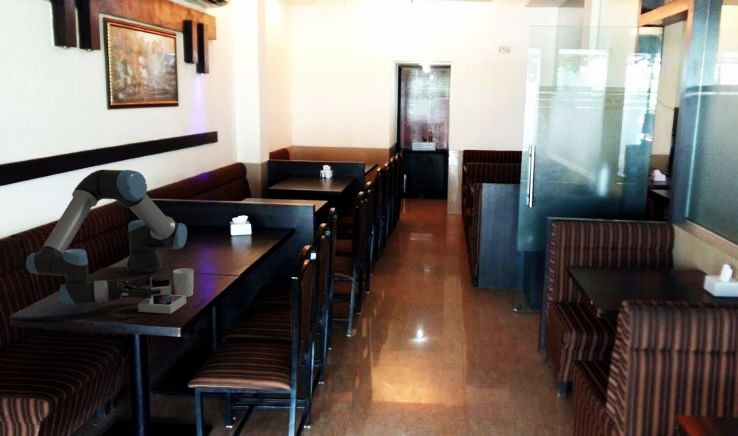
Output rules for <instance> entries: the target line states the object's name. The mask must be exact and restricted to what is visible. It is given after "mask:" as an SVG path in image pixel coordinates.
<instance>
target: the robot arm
mask: <svg viewBox="0 0 738 436" xmlns="http://www.w3.org/2000/svg"><path fill="white" fill-rule="evenodd" d="M146 182H147V181H146V178H145V176H144V175H143V174H142V173H141V172H139V171H136V170H131V169H98V170H95V171H92V172H90V173H89V174H88V175H86V176H85V177H84V178H83V179H81V181H80V182H79V183H78V184H77V185H76V186H75V188H74V190H73V191H72V193H71V196H72V198H71V200H70V202H69V203H68V204H67V206H66V208H65V210H64V211H63V213H62V214H61V216H60V217H59V220H58V221H57V223H56V225H55V226H54V227H53V229H52V231H51V233H50V234H49V236H48V238H47V239H46V240H45V242H44V244H43V246H42V247H41V249H40V250H39V252H32V253H31V254H29V255H28V256H27V258H26V260H25V267H26V269H27V271H28V272H29V273H31V274H34V275H35V274H36V275H39V276H42V275H47V276H63V277H65V283H62V284H60V285H59V286H60V287H59V299H60V302H61V304H62V305H79V304H81V305H82V304H89V303H98V304H101V303H102V302H107V301H108V300H109V301H110V302H111V301H119V300H120V299H121V297H122V298H133V299H134V298H137V299H138V298H139V299H147V298H151V296H154V295H165V294H170V286H167V287H156V288H152V287H151V288H145V287H146V286H152V281H151V279H152V278H153V277H151V276H150V275H147V276H145V277H140V278H135V279H130V280H123V281H122V283H121V284H120V280H119V279H118V278H117V279H108V280H105V279H104V280H95V281H94V280H93V281H90V278H89V277H90V275H89V260H88V255H87V251H86V250H84V249H83V248H71V249H68V248H69V246H70V245H71V243H72V241H73V240H74V239H75V236H76V235H77V233H78V231H79V230H80V227H81V226H82V224H83V223H84V221H85V219H86V218H87V216H88V215H89V212H90V211H91V209H92V207H96V206H97V204H98V203H99V201H101V200H115V201H116V202H118V203H119V204H120V205H121V206H122V207H123V208H126V209H127V208H129V210H131V211H132V212H133V213H134V214H135V215H136V216H137V217H138V218H139V219H136V220H132V221H130V222H129V223H128V227H127V229H128V231H127V233H128V242H129V243H128V244H129V245H128V247H129V256H128V259H127V264H126V271H127V272H129V273H132V274H147V273H153V272H157V271H160V270H161V269H163V268H162V261H161V259H160V256H159V254H158V251H157V250H158V249H167V250H168V249H169V250H171V249H172V250H181V249H182V248H183V247H184V246H185V244H186V242H187V238H188V228H187V226H186V224H184V223H181V222H178V223H177V222H176V221H175V220H174V219H173V218H172V217H170V216H168V215H167V216H166V215H165V214H164V212H163V211H161V209H160V208H159V207H158V206H157V205H156V204H155V203H154V201H153V200H152V199H151V198H150V197H149V195H148V194H147V190H148V184H147V183H146Z"/></svg>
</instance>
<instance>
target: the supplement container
mask: <svg viewBox="0 0 738 436" xmlns="http://www.w3.org/2000/svg"><path fill="white" fill-rule="evenodd" d="M151 278H152V279H151V281H152V285H151V288H156V287H167V286H170V294H165V295H154V296H153V304H162V305H170V304H171V303H172V298H171V295H172V286H171V285H172V284H171V277H170V276H169V275H158V276H154V277H151Z"/></svg>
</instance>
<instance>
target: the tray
mask: <svg viewBox="0 0 738 436" xmlns="http://www.w3.org/2000/svg"><path fill="white" fill-rule="evenodd" d="M171 298H172V303H171V304H170V305H162V304H153V296H152V295H151V298H144V299H143V300H142V301H140V302H139V303H138V304H137V305H138V306H137V309H138V312H139V313H141V312H142V313H153V314H154V313H157V314H173V313H174V312H175V311H177V310H178V309H180V308H182V306H184V305H186V304H187V297H186V295H176V294H171Z"/></svg>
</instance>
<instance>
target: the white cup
mask: <svg viewBox="0 0 738 436" xmlns="http://www.w3.org/2000/svg"><path fill="white" fill-rule="evenodd" d="M194 273H195V272H194V269H193V268H189V267H187V268H186V267H183V268H177V269H174V270H173V271H172V275H173V285H174V293H175V294H174V295H186V298H188V297H191V296H193V295H194V282H195V278H194V275H195V274H194Z"/></svg>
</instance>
